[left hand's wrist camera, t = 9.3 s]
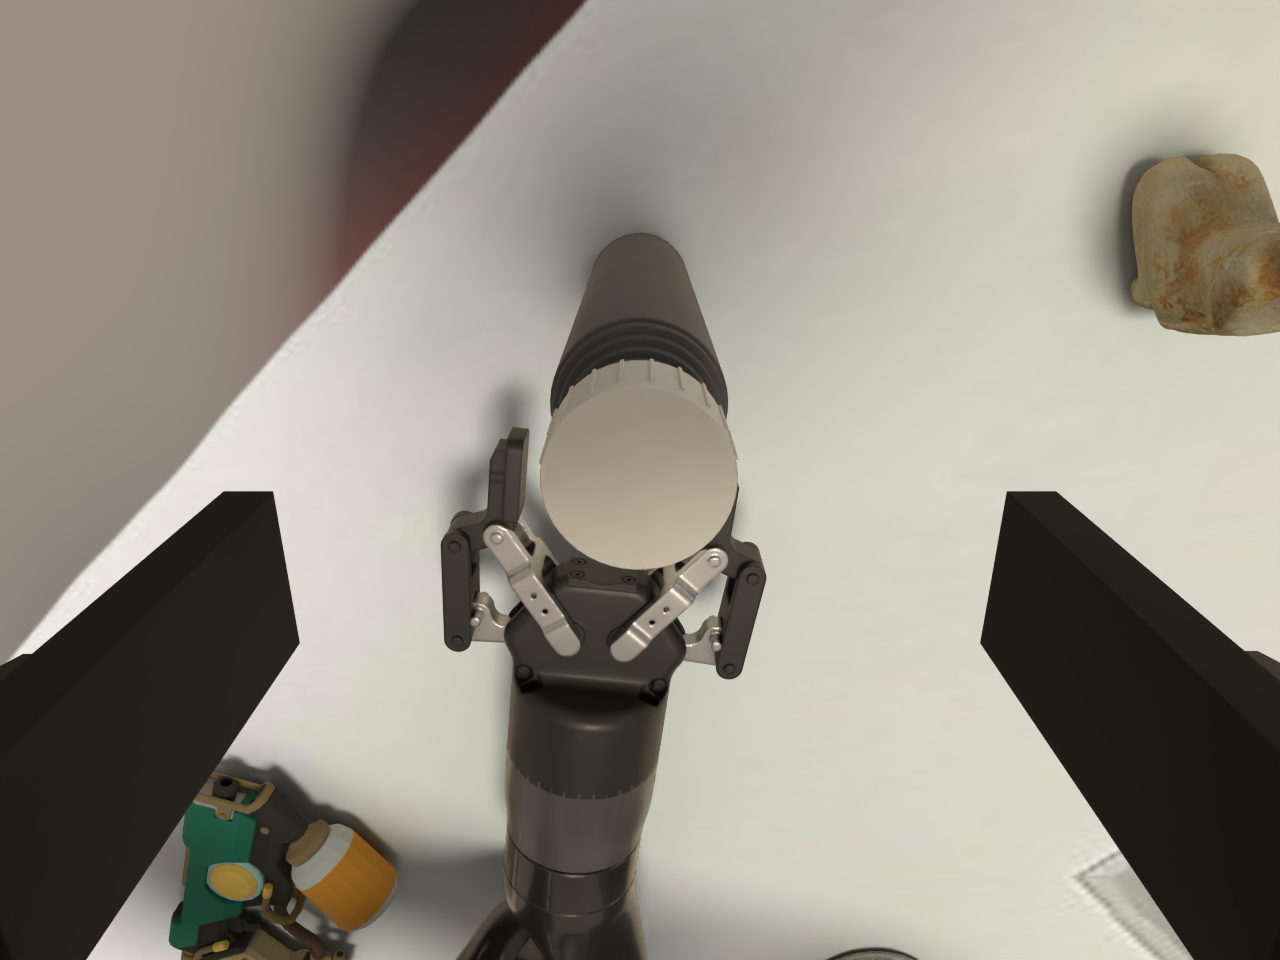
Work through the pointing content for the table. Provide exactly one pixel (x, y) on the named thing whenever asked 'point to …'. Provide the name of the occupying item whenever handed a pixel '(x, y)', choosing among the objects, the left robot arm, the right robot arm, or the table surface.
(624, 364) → the cap
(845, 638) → the table surface
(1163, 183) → the sculpture
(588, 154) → the table surface
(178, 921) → the spray gun
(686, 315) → the bottle
